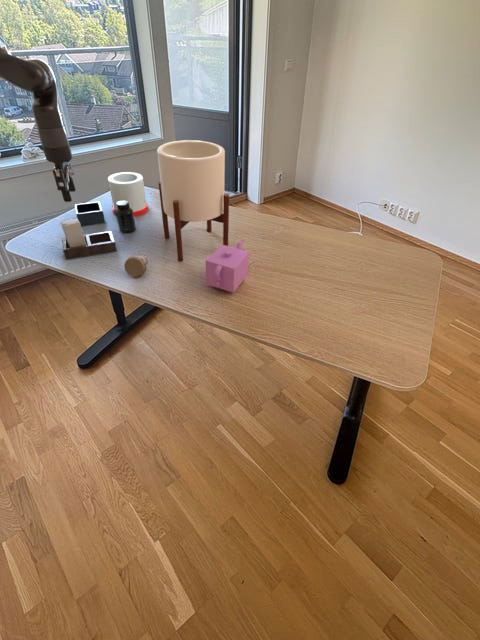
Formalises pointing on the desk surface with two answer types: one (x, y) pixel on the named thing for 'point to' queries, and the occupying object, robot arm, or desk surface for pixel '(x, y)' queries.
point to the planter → (192, 186)
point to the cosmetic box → (73, 233)
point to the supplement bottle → (125, 217)
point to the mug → (136, 265)
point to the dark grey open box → (89, 213)
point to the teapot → (227, 267)
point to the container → (128, 191)
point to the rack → (91, 245)
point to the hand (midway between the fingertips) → (70, 196)
